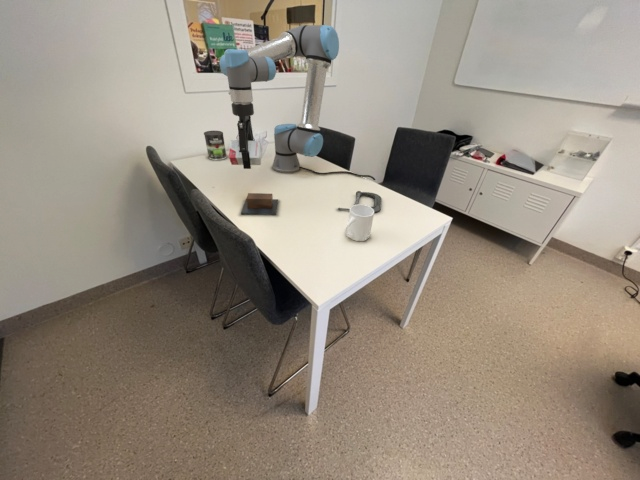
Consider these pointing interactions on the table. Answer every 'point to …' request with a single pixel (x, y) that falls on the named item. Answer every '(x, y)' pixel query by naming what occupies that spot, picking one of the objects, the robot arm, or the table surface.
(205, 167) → the table surface
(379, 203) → the c clamp
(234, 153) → the ink box
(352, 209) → the mug
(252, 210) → the stand
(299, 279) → the table surface
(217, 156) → the coffee can
